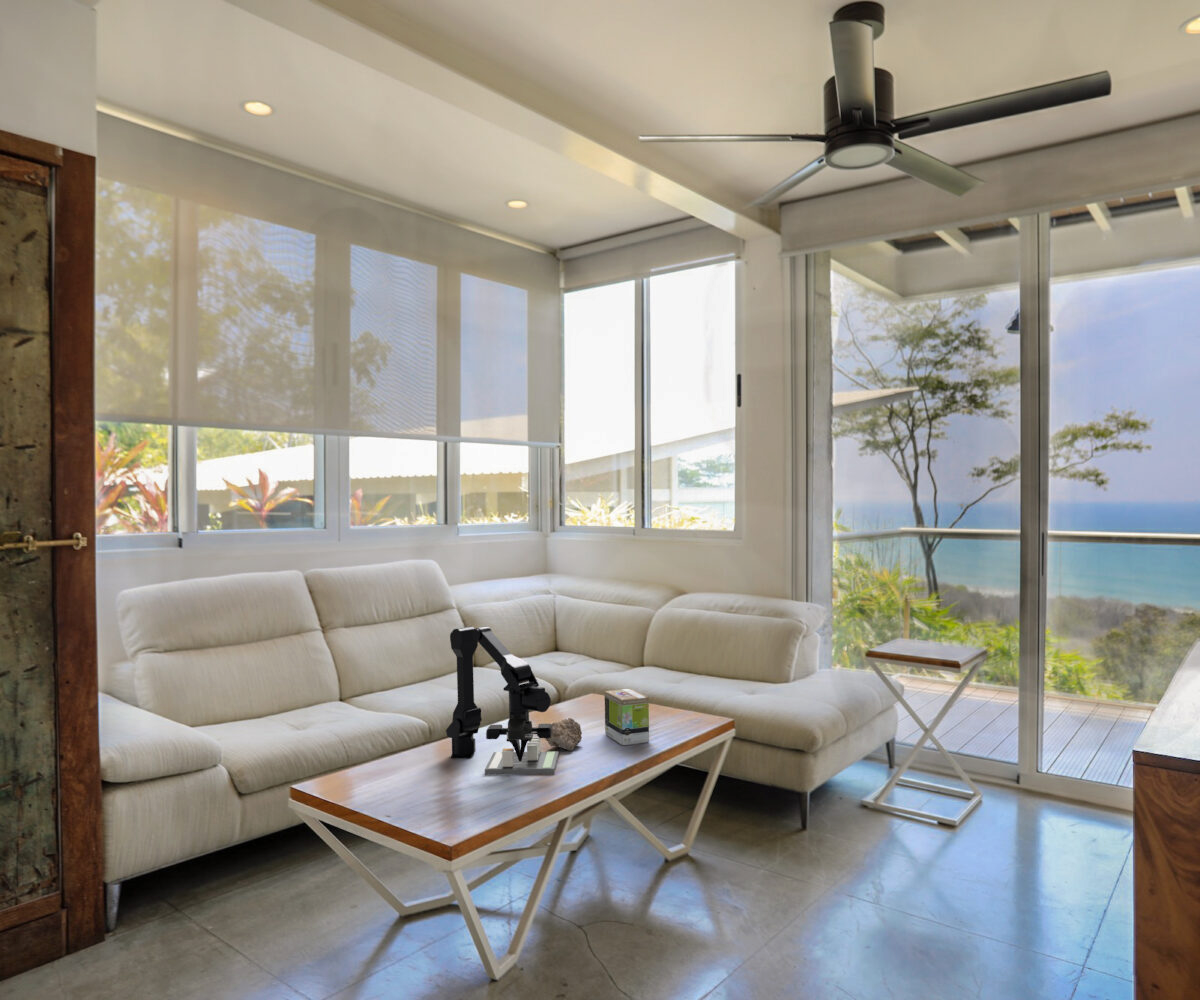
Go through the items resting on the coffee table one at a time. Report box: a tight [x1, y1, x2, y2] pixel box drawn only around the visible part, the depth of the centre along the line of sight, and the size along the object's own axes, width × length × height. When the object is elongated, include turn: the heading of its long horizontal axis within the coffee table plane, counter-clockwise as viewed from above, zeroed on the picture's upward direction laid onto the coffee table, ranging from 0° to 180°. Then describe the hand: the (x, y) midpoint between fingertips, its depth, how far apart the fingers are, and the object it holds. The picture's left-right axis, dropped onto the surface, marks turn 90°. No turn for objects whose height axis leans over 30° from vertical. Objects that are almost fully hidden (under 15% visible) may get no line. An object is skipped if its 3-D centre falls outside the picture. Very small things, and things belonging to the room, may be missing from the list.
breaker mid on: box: [526, 741, 538, 760], centre depth 244 cm, size 3×3×5 cm
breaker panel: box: [484, 751, 560, 776], centre depth 244 cm, size 20×16×2 cm
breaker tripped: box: [501, 747, 515, 767], centre depth 239 cm, size 3×3×5 cm
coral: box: [544, 717, 583, 752], centre depth 261 cm, size 14×9×10 cm, turn 141°
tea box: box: [604, 688, 650, 746], centre depth 269 cm, size 15×10×15 cm
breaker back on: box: [528, 736, 541, 754], centre depth 249 cm, size 3×3×5 cm
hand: (520, 760), depth 238 cm, fingers closed
